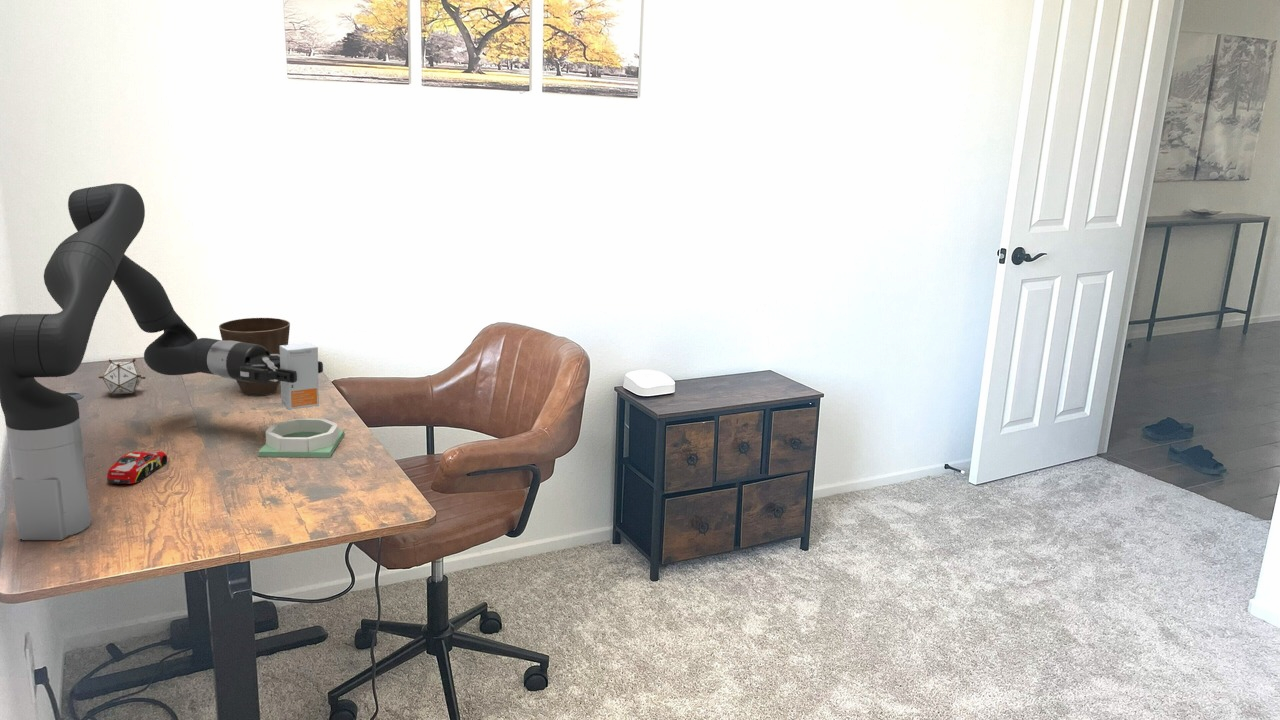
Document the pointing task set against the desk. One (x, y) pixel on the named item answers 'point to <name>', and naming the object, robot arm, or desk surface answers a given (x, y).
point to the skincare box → (300, 375)
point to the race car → (136, 466)
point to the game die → (122, 377)
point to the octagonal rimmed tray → (302, 438)
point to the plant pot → (261, 333)
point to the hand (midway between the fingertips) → (308, 372)
